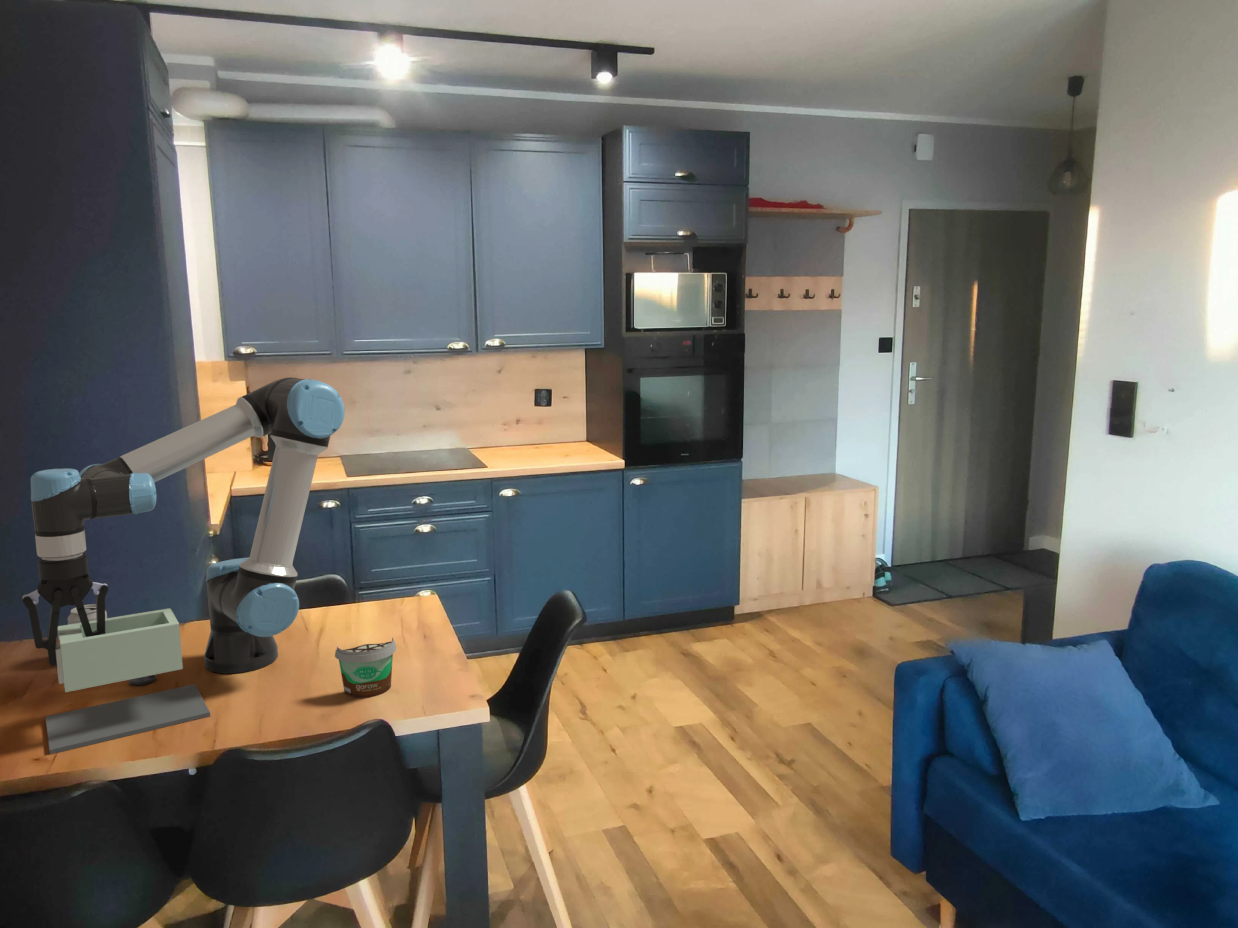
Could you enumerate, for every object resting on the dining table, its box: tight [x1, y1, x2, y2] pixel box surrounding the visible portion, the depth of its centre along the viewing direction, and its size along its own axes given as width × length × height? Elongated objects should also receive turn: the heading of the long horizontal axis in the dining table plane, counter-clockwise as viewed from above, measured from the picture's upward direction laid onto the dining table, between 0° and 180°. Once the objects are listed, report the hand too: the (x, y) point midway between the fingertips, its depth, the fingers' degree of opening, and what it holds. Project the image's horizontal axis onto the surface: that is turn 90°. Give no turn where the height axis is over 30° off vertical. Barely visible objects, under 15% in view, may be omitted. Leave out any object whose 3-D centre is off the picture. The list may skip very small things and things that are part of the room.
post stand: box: [128, 674, 157, 687], centre depth 183 cm, size 5×5×15 cm
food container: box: [334, 636, 397, 699], centre depth 178 cm, size 12×6×10 cm, turn 118°
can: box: [67, 603, 108, 625], centre depth 195 cm, size 8×8×12 cm
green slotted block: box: [57, 607, 184, 693], centre depth 165 cm, size 19×11×9 cm, turn 125°
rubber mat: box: [45, 683, 211, 755], centre depth 167 cm, size 26×16×1 cm, turn 125°
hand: (74, 678), depth 161 cm, fingers closed on green slotted block, 3 cm apart
